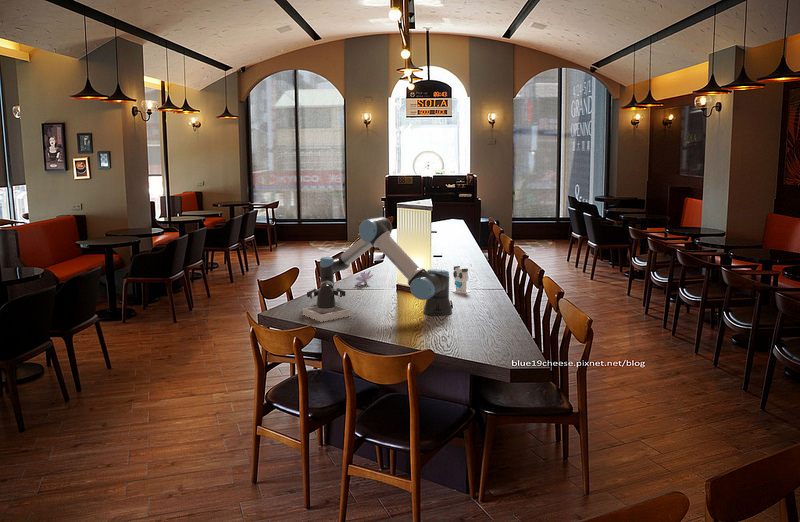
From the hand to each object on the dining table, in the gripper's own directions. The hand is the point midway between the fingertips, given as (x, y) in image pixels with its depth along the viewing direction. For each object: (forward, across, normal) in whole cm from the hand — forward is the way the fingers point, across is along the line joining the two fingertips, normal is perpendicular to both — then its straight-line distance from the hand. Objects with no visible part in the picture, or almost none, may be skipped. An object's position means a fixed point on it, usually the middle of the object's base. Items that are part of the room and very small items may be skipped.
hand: (325, 297), depth 326 cm
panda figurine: (-53, -81, -11) cm, 97 cm away
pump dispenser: (-3, 0, -9) cm, 10 cm away
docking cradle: (-3, 0, -10) cm, 11 cm away
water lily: (-76, -22, -11) cm, 80 cm away
